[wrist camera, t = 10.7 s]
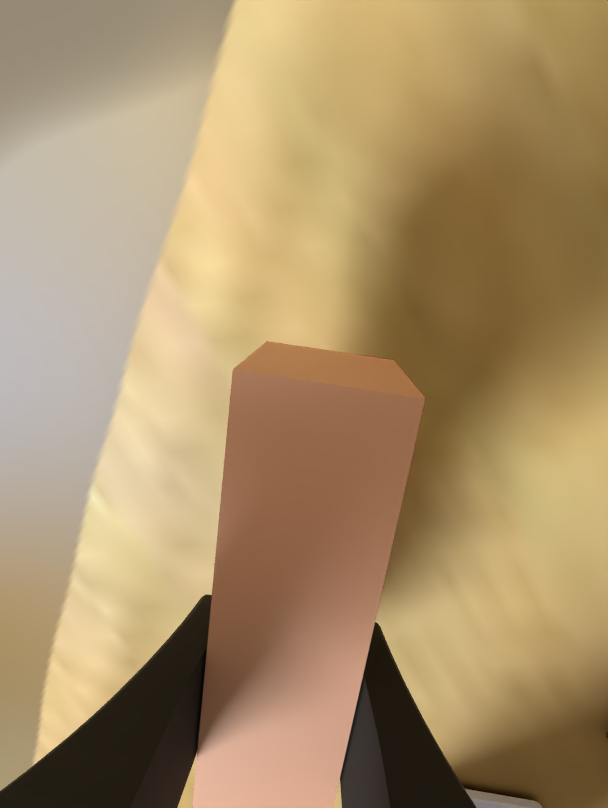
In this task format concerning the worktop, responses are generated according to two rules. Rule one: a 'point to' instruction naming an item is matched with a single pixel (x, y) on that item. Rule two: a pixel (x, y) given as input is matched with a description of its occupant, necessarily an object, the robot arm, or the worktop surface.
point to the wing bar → (299, 569)
